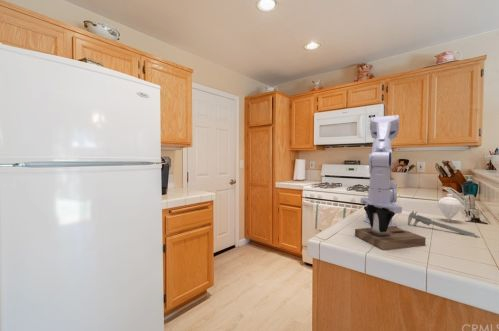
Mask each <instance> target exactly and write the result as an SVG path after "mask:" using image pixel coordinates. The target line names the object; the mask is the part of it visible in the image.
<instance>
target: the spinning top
mask: <svg viewBox="0 0 499 331" xmlns="http://www.w3.org/2000/svg"><path fill="white" fill-rule="evenodd" d="M437 208H438V209H439V210H440V212H441V213H442V215H443V216H444V217H445V218H446V219H447V221H448V223H449V222H450V220H452V219H453V218H455V216H457V215H458V214H459V213H460V211H461V210H462V208H463V206H462V202H461V201H460V200H459V199H458V198H456V197H454V194H453V193H447V194H446V196H445V197H444V196H443V197H441V198H440V199H439V200H438V202H437Z"/></svg>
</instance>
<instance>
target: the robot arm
mask: <svg viewBox="0 0 499 331" xmlns="http://www.w3.org/2000/svg"><path fill="white" fill-rule="evenodd" d="M399 130H400V115H398V114H396V115H395V114H393V115H382V116H371V118H370V119H369V132H370V136H371V138H372V139H374V140H373V142H372V145H371V146H372V148H371V152H370V153H369V154H368V169H369V170H368V172H369V184H368V191H367V192H368V194H367V197H360V204H361V205H365V206H363V210H364V211H365V219H363V221H364V222H365V223H368V224H370V228H372V227H373V212H377V215H378V220H379V231H380V232H386V231H387V228H388V226H394V227H398V224H396V223H393V218H394V216H395V215H396V214H402V209H403V207H402V206H401V205H398V204H395V203H397V198H398V196H397V195H398V189H397V184H396V183H395V182H394V181H392V180H391V173H392V172H391V170H393V163H394V162H393V160H394V158H393V156H394V155H393V150H392V149H393V147H392V146H393V139H395V138H398V136H399Z"/></svg>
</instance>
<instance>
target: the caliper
mask: <svg viewBox="0 0 499 331" xmlns="http://www.w3.org/2000/svg"><path fill="white" fill-rule="evenodd" d="M417 213H418V211H416V212H414V210H412V212H410V213H409V215H408V217H407V225H408V226H410V225H411V223H412V220H413V219H414V222H413V227H416V226H417V225H418V224H419V223H420V222H421V224H424V225H427V226H430V225H433V226H435V227H440V228H442V229H446V230H448V231H451V232H455V233H458V234H461V235H464V236H468V237H472V238H474V237H476V238H479V239H480V238H481V237H480V236H479V235H478V234H476V233H475V232H472V231H469V230H466V229H462V228H461V227H460V228H459V227H455V226H453V225H449V224H446V223H442V222H439V221H436V220H433V219H432V218H429V217H427V216H423V215H419V214H417Z"/></svg>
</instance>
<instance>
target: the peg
mask: <svg viewBox="0 0 499 331" xmlns="http://www.w3.org/2000/svg"><path fill="white" fill-rule="evenodd" d="M372 235H374V236H376V237H386V236H387V231H386V232H380V231H379V220H378V215H377V212H373V227H372Z"/></svg>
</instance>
